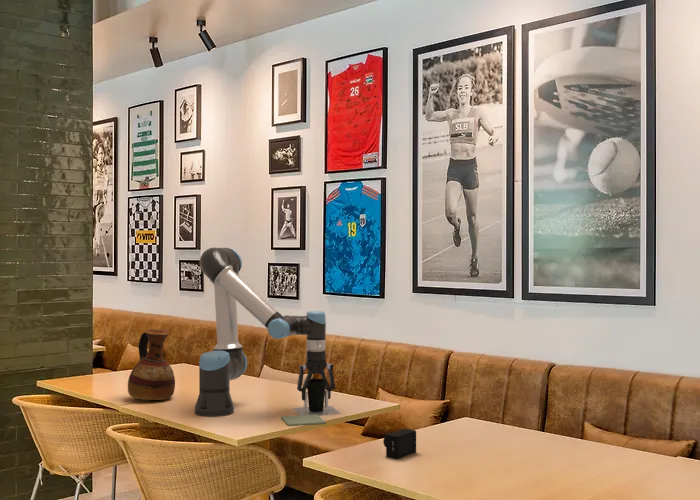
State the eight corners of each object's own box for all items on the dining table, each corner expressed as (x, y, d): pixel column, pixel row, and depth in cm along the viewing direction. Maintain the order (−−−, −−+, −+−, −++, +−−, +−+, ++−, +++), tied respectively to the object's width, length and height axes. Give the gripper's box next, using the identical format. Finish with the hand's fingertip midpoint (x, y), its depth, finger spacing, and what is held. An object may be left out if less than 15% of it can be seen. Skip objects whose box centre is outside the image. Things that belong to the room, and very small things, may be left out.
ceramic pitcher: (147, 405, 307) (147, 332, 307) (117, 400, 319) (117, 329, 319) (184, 398, 322) (184, 329, 322) (154, 393, 334) (155, 326, 335)
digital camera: (401, 449, 237) (401, 427, 238) (416, 452, 234) (416, 430, 234) (382, 456, 229) (382, 433, 229) (397, 459, 226) (397, 436, 226)
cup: (302, 411, 295) (302, 381, 295) (312, 408, 302) (312, 378, 302) (319, 413, 291) (319, 382, 292) (329, 409, 298) (329, 379, 298)
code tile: (300, 418, 287) (300, 416, 287) (292, 410, 302) (292, 407, 302) (341, 416, 291) (341, 413, 291) (330, 408, 307) (330, 405, 307)
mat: (288, 426, 270) (288, 424, 270) (280, 418, 283) (280, 416, 283) (325, 423, 274) (325, 422, 274) (316, 415, 287) (316, 414, 287)
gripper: (292, 352, 290) (292, 411, 290) (343, 350, 296) (343, 408, 296) (288, 350, 298) (288, 407, 297) (338, 348, 303) (338, 404, 303)
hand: (316, 407), depth 297 cm, fingers closed on cup, 8 cm apart
